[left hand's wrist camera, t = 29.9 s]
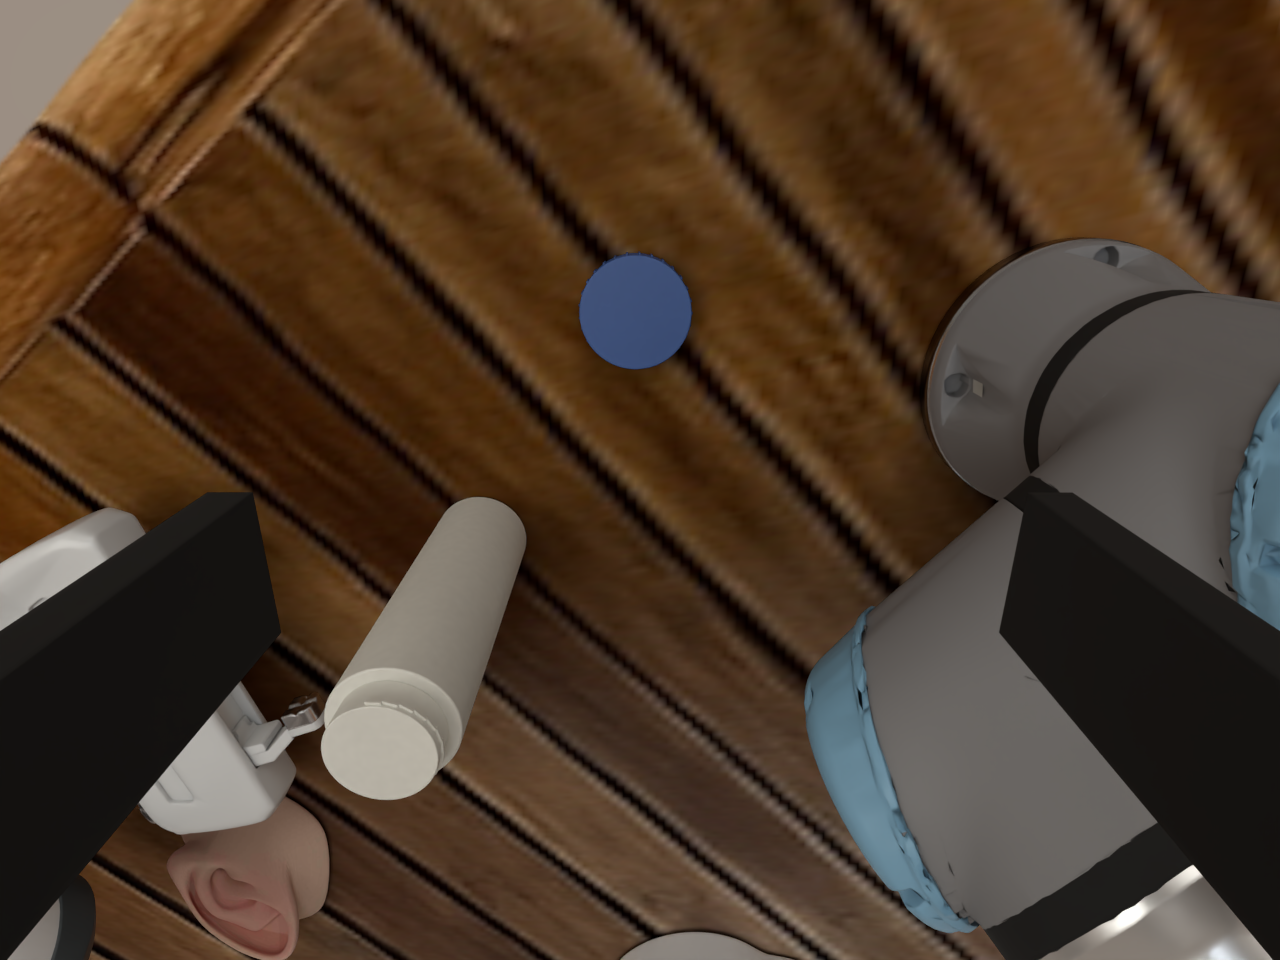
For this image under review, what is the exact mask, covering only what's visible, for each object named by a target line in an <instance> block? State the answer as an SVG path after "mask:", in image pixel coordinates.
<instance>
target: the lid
mask: <svg viewBox="0 0 1280 960" xmlns="http://www.w3.org/2000/svg"><path fill="white" fill-rule="evenodd" d="M682 279H683V278H682V276H681V275H678V274H677V272H676V271H675V270H674V267H673V266H670V265H668V264H667V263H666V262H664V259H659V258H657V257H654V256H653V255H652V254H650V255H647V254H641V253H640V252H638V253H629V254H628V252H626V254H624V255H620V256H616V255H615V256H614V258H612V259H610V260H609V261H607V262H606V261H604V262H603V265H602V266H600V267H599V268H598V269H595V270H594V274H593V275H592V277H591V278H590V279H588V280H587V281H586V283H587V284H586V287H585V289H584V290H583V291H582V292H581V294H582V297H581V302H580V304H579V307H580V311H579V314H580V316H579V319H580V323H581V327H582V331H583V333H584V336H585V338H586V340H587V342H588V343H589V345H590V346H591V347H592V349H593V350H594V351H595V352H596V353H597V354H598V355H599V356H600V357H602V358H603V359H604V360H606V361H608V362H609V363H611V364H613V365H616V366H619V367H622V368H627V369H644V368H649V367H652V366H656V365H658V364H660V363H662V362H664V361H665V360H667V359H668V358H670V357H671V356H672V355H673V354H674V353H675V352H676V351H677V350H678V349H679V348H680V346H681V345H682V343H683V342H684V340H685V338H686V337H687V333H688V331H689V328H690V327H691V316H692V314H693V312H692V310H691V302H692V300H691V298H690V297H689V294H688V291H687V290H688V287H687V286H685V285H684V283H683V281H682Z"/></svg>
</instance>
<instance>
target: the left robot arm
mask: <svg viewBox="0 0 1280 960" xmlns="http://www.w3.org/2000/svg"><path fill="white" fill-rule="evenodd" d="M920 401H921V411H922V416H923V421H924V425H925V428H926V431H927V434H928V436H929V438H930V441H931V443H932V445H933V447H934V448H935V450H936V452H937V453H938V455H939V456H940V457H941V459H942V460H943V461H944V462H945V464H946V465H947V466H948V467H949V468H950V469H951V470H952V471H953V472H954V473H956V474H957V475H958V476H959V477H960V478H961V479H963V480H964V481H965V482H966V483H968V484H969V485H970V486H971V487H973V488H975V489H976V490H978V491H979V492H981V493H983V494H985V495H987V496H989V497H991V498H993V499H996V500H998V502H997V503H996V504H995V505H994V506H993V507H991V508H990V509H989V510H988V511H987V512H986V513H984V514H983V515H982V516H981V517H980V518H979V519H977V520H976V521H975V522H974V523H973V524H972V525H971V526H969V527H968V528H967V529H966V530H965V531H964V532H962V533H961V534H960V535H959V536H958V537H957V538H955V539H954V540H953V541H952V542H951V543H950V544H948V545H947V546H946V547H945V548H944V549H943V550H941V551H940V552H939V553H938V554H937V555H936V556H935V557H933V558H932V559H931V560H930V561H929V562H928V563H926V564H925V565H924V566H923V567H922V568H921V569H919V570H918V571H917V572H916V573H915V574H914V575H912V576H911V577H910V578H909V579H908V580H907V581H905V582H904V583H903V584H902V585H901V586H900V587H898V588H897V589H896V590H895V591H894V592H893V593H892V594H890V595H889V596H888V597H887V598H886V599H885V600H883V601H882V602H881V603H880V604H879V605H878V606H876V607H874V606H871V607H869V608H868V609H866V610H865V611H864V612H862V614H861V615H860V616H859V617H858V619H857V622H856V625H855V626H854V627H853V628H852V629H851V630H850V631H849V632H848V633H847V634H845V635H844V636H843V637H842V638H841V639H840V640H839V641H838V642H837V643H836V644H835V645H834V646H833V647H832V648H831V649H830V650H829V651H828V652H827V653H826V654H825V655H824V656H823V657H822V658H821V659H820V660H819V661H818V662H817V663H816V665H815V666H814V668H813V669H812V671H811V673H810V675H809V678H808V680H807V684H806V689H805V701H804V705H805V711H806V727H807V732H808V736H809V740H810V744H811V748H812V751H813V754H814V757H815V760H816V763H817V766H818V768H819V771H820V773H821V776H822V778H823V781H824V783H825V785H826V788H827V790H828V792H829V794H830V796H831V799H832V801H833V803H834V805H835V807H836V808H837V810H838V812H839V814H840V816H841V818H842V820H843V822H844V823H845V825H846V827H847V829H848V830H849V832H850V834H851V836H852V837H853V839H854V841H855V842H856V844H857V846H858V847H859V849H860V850H861V852H862V853H863V855H864V856H865V858H866V859H867V861H868V862H869V864H870V865H871V866H872V868H873V869H874V871H875V872H876V873H877V875H878V876H879V877H880V878H881V880H882V881H883V882H884V883H885V884H886V886H887V887H888V888H889V889H891V890H893V891H898V892H899V894H900V896H901V898H902V900H903V902H904V904H905V906H906V907H907V909H908V910H909V911H910V912H911V913H913V914H914V915H915V916H916V917H917V918H918V919H920V920H921V921H922V922H924V923H925V924H926V925H928V926H930V927H932V928H934V929H936V930H939V931H942V932H946V933H953V932H957V931H961V932H965V933H969V932H971V931H973V930H974V929H975V928H977V927H978V926H979V925H981V927H982V928H983V929H984V930H985V932H986V933H987V935H988V936H989V937H990V939H991V940H992V941H993V943H994V944H995V946H996V947H997V948H998V950H999V951H1000V952H1001V954H1002V955H1003V957H1004V958H1005V959H1006V960H1280V302H1273V301H1266V300H1259V299H1252V298H1246V297H1239V296H1232V295H1225V294H1216V293H1211V292H1210V291H1208V290H1207V289H1206V288H1205V287H1203V286H1202V285H1201V284H1200V283H1198V282H1197V281H1196V280H1195V279H1193V278H1192V277H1191V276H1190V275H1188V274H1187V273H1186V272H1185V271H1183V270H1182V269H1181V268H1179V267H1178V266H1177V265H1176V264H1174V263H1173V262H1171V261H1170V260H1168V259H1167V258H1165V257H1163V256H1162V255H1159V254H1157V253H1155V252H1153V251H1150V250H1148V249H1145V248H1143V247H1140V246H1138V245H1135V244H1131V243H1128V242H1124V241H1118V240H1112V239H1100V238H1084V237H1082V238H1066V239H1059V240H1053V241H1049V242H1045V243H1041V244H1038V245H1035V246H1032V247H1029V248H1026V249H1024V250H1022V251H1020V252H1017V253H1015V254H1013V255H1011V256H1009V257H1008V258H1006V259H1004V260H1002V261H1000V262H999V263H997V264H996V265H994V266H993V267H992V268H990V269H989V270H987V271H986V272H985V273H983V274H982V275H981V276H980V277H978V278H977V279H976V280H975V281H974V282H973V283H972V284H971V285H970V286H969V287H968V288H967V289H966V290H965V291H964V292H963V293H962V294H961V295H960V296H959V297H958V299H957V300H956V301H955V302H954V304H953V305H952V306H951V308H950V309H949V310H948V312H947V313H946V315H945V316H944V318H943V319H942V321H941V323H940V324H939V326H938V328H937V330H936V332H935V334H934V336H933V338H932V341H931V343H930V346H929V348H928V351H927V355H926V358H925V361H924V366H923V371H922V376H921V386H920ZM280 633H281V630H280V625H279V620H278V615H277V610H276V605H275V600H274V595H273V590H272V585H271V580H270V575H269V570H268V566H267V561H266V556H265V551H264V546H263V541H262V536H261V531H260V526H259V521H258V516H257V511H256V506H255V502H254V497H253V492H207V493H206V494H204V495H203V496H201V497H200V498H198V499H197V500H195V501H194V502H192V503H191V504H189V505H188V506H186V507H185V508H183V509H182V510H181V511H179V512H178V513H176V514H175V515H173V516H172V517H170V518H169V519H167V520H166V521H164V522H163V523H161V524H160V525H158V526H157V527H155V528H154V529H152V530H151V531H149V532H148V533H146V534H145V535H143V536H142V537H140V538H139V539H137V540H136V541H134V542H133V543H131V544H130V545H128V546H127V547H125V548H124V549H122V550H121V551H119V552H118V553H116V554H115V555H113V556H112V557H110V558H109V559H107V560H106V561H104V562H103V563H101V564H100V565H98V566H97V567H95V568H94V569H92V570H91V571H89V572H88V573H86V574H85V575H83V576H82V577H80V578H79V579H77V580H76V581H74V582H73V583H71V584H70V585H68V586H67V587H65V588H64V589H62V590H61V591H59V592H58V593H56V594H55V595H53V596H52V597H50V598H49V599H47V600H46V601H44V602H43V603H41V604H40V605H38V606H37V607H35V608H34V609H32V610H31V611H29V612H28V613H26V614H25V615H23V616H22V617H20V618H19V619H17V620H16V621H14V622H13V623H11V624H10V625H8V626H7V627H5V628H4V629H2V630H1V631H0V960H7V959H8V958H9V957H10V956H11V955H12V954H13V952H14V951H15V950H16V949H17V948H18V946H19V945H20V944H21V943H22V942H23V940H24V939H25V938H26V937H27V936H28V934H29V933H30V932H31V931H32V930H33V928H34V927H35V926H36V925H37V924H38V922H39V921H40V920H41V919H42V918H43V916H44V915H45V914H46V913H47V912H48V910H49V909H50V908H51V907H52V906H53V905H54V903H55V902H56V901H57V900H58V899H59V897H60V896H61V895H62V894H63V893H64V891H65V890H66V889H67V888H68V887H69V885H70V884H71V883H72V882H73V881H74V879H75V878H76V877H77V876H78V875H79V873H80V872H81V871H82V870H83V869H84V867H85V866H86V865H87V864H88V863H89V862H90V860H91V859H92V858H93V857H94V856H95V854H96V853H97V852H98V851H99V850H100V848H101V847H102V846H103V845H104V844H105V842H106V841H107V840H108V839H109V838H110V836H111V835H112V834H113V833H114V832H115V830H116V829H117V828H118V827H119V826H120V824H121V823H122V822H123V821H124V820H125V818H126V817H127V816H128V815H129V814H130V813H131V811H132V810H133V809H134V808H135V807H136V805H137V804H138V803H139V802H140V801H141V799H142V798H143V797H144V796H145V795H146V793H147V792H148V791H149V790H150V789H151V787H152V786H153V785H154V784H155V783H156V781H157V780H158V779H159V778H160V777H161V775H162V774H163V773H164V772H165V771H166V769H167V768H168V767H169V766H170V765H171V764H172V762H173V761H174V760H175V759H176V758H177V756H178V755H179V754H180V753H181V752H182V750H183V749H184V748H185V747H186V746H187V744H188V743H189V742H190V741H191V740H192V738H193V737H194V736H195V735H196V734H197V732H198V731H199V730H200V729H201V728H202V726H203V725H204V724H205V723H206V722H207V721H208V719H209V718H210V717H211V716H212V715H213V713H214V712H215V711H216V710H217V709H218V707H219V706H220V705H221V704H222V703H223V701H224V700H225V699H226V698H227V697H228V695H229V694H230V693H231V692H232V691H233V689H234V688H235V687H236V686H237V685H238V683H239V682H240V681H241V680H242V679H243V677H244V676H245V675H246V674H247V673H248V672H249V670H250V669H251V668H252V667H253V666H254V664H255V663H256V662H257V661H258V660H259V658H260V657H261V656H262V655H263V654H264V652H265V651H266V650H267V649H268V648H269V646H270V645H271V644H272V643H273V642H274V640H275V639H276V638H277V637H278V636H279V634H280Z"/></svg>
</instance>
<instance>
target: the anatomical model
mask: <svg viewBox="0 0 1280 960" xmlns="http://www.w3.org/2000/svg"><path fill="white" fill-rule="evenodd" d="M181 836H182V838H183V841H184V842H185V845H183V846H182V847H181V848H179V849H177V850H176V851H175V852H174V853H173V854H172V855H171V856H170V858H169V859H168V862H167V870H168V872H169V874H170V876H171V878H172V880H173V882H174V883H175V885H176V887H177V888H178V890H179V892H180V893H181V895H182V897H183V898H184V900H185V902H186V903H187V905H188V907H189V908H190V910H191V911H192V913H193V914H194V916H195V917H196V918H197V919H198V921H199V922H200V923H201V924H202V925H203V926H204V927H205V928H206V929H207V930H208V931H209V932H210V933H212V934H213V935H214V936H216V937H217V938H218V939H220V940H221V941H223V942H224V943H226V944H227V945H229V946H231V947H232V948H234V949H236V950H238V951H240V952H242V953H244V954H246V955H249V956H252V957H255V958H258V959H261V960H284V959H286V958H288V957H289V956H290V955H291V954H292V952H293V951H294V949H295V947H296V944H297V940H298V935H299V919H302V918H306V917H309V916H311V915H313V914H315V913H316V912H318V911H319V910H320V909H321V907H322V906H323V904H324V902H325V898H326V895H327V890H328V882H329V850H328V844H327V839H326V835H325V832H324V830H323V828H322V826H321V825H320V823H319V822H318V820H317V819H316V818H315V817H314V816H313V815H312V814H311V813H310V812H309V811H307V810H306V809H305V808H303V807H302V806H300V805H299V804H298V803H296V802H294V801H293V800H291V799H289V798H287V797H286V796H285V797H284V799H283V800H282V802H281V803H280V805H279V806H278V808H277V809H276V811H275V812H274V813H273V814H272V815H271V816H270V817H269V818H268V819H266V820H265V821H262V822H259V823H256V824H251V825H247V826H242V827H237V828H231V829H225V830H218V831H210V832H201V833H189V834H181Z"/></svg>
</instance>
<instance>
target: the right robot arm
mask: <svg viewBox="0 0 1280 960" xmlns="http://www.w3.org/2000/svg"><path fill="white" fill-rule="evenodd" d="M145 534H146V533H145V531H144V529H143V528H142V526H141V524H140V523H139V521H138V520H137V518H136V517H135V516H134V515H133V514H131V513H128V512H125V511H122V510H118V509H115V508H104V509H102V510H99V511H96V512H94V513H91V514H89V515H87V516H84V517H82V518H80V519H78V520H76V521H74V522H72V523H70V524H68V525H67V526H65V527H63V528H61V529H59V530H57V531H55V532H54V533H52V534H50V535H48V536H46V537H44V538H43V539H41V540H39V541H37V542H35V543H34V544H32V545H30V546H29V547H27V548H25V549H24V550H22V551H20V552H19V553H17V554H15V555H14V556H12V557H10V558H9V559H7V560H5V561H4V562H2V563H0V631H1V630H2V629H4V628H5V627H7V626H8V625H10V624H11V623H13V622H14V621H16V620H17V619H19V618H20V617H22V616H23V615H25V614H26V613H28V612H29V611H31V610H32V609H34V608H35V607H37V606H38V605H40V604H41V603H43V602H44V601H46V600H47V599H49V598H50V597H52V596H53V595H55V594H56V593H58V592H59V591H61V590H62V589H64V588H65V587H67V586H68V585H70V584H71V583H73V582H74V581H76V580H77V579H79V578H80V577H82V576H83V575H85V574H86V573H88V572H89V571H91V570H92V569H94V568H95V567H97V566H98V565H100V564H101V563H103V562H104V561H106V560H107V559H109V558H110V557H112V556H113V555H115V554H116V553H118V552H119V551H121V550H122V549H124V548H125V547H127V546H128V545H130V544H131V543H133V542H134V541H136V540H137V539H139V538H140V537H142V536H143V535H145ZM325 706H326V705H325V703H324V702H323V700H322V698H321V697H320V695H319V694H318V692H313V693H311V694H310V695H309V696H305V695H303V696H300V697H296V698H294V699H293V701H292V702H291V703H290V705H289V709H288V710H286V711H285V712H284V714H283V715H282V717H281V719H282V721H283V723H284V724H285V726H284V727H282V724H281V722H280V721H279V720H274V721H271V722H267V721H266V719H265V718H264V716H263V715H262V713H261V712H260V710H259V709H258V707H257V705H256V704H255V702H254V701H253V699H252V698H251V696H250V695H249V693H248V691H247V690H246V688H245V687H244V685H243V684H242V682H241V681H240V682H239V683H238V685H237V686H236V687H235V688H234V689H233V691H232V692H231V693H230V694H229V695H228V697H227V698H226V699H225V700H224V701H223V703H222V704H221V705H220V706H219V707H218V709H217V710H216V711H215V712H214V713H213V715H212V716H211V717H210V718H209V719H208V721H207V722H206V723H205V724H204V725H203V726H202V728H201V729H200V730H199V731H198V732H197V734H196V735H195V736H194V737H193V738H192V740H191V741H190V742H189V743H188V744H187V746H186V747H185V748H184V749H183V750H182V752H181V753H180V754H179V755H178V756H177V758H176V759H175V760H174V761H173V762H172V764H171V765H170V766H169V767H168V768H167V769H166V771H165V772H164V773H163V774H162V775H161V777H160V778H159V779H158V780H157V781H156V783H155V784H154V785H153V786H152V787H151V789H150V790H149V791H148V792H147V793H146V795H145V796H144V797H143V798H142V799H141V801H140V802H139V803H138V804H137V805H138V806H139V807H140V808H139V810H140V812H141V813H142V815H143V816H144V817H145V818H146V819H147V820H148V821H149V822H150V823H152V824H158V825H159V826H160V827H162V828H163V829H166V830H168V831H171V832H174V833H176V834H189V833H201V832H210V831H218V830H225V829H231V828H237V827H242V826H247V825H251V824H256V823H259V822H262V821H265V820H266V819H268V818H269V817H270V816H271V815H272V814H273V813H274V812H275V811H276V809H277V808H278V806H279V805H280V803H281V802H282V800H283V799H284V797H285V795H286V793H287V792H288V790H289V788H290V786H291V784H292V781H293V779H294V777H295V775H296V767H295V765H294V763H293V761H292V760H291V758H290V757H289V755H288V754H287V752H286V751H285V748H286V747H287V746H288V745H289V744H290V742H291V741H292V740H293V739H294V737H295V736H298V735H302V734H305V733H308V732H312V731H315V730H317V729H318V728H320V727H321V726H322V725H323V724H324V711H325ZM95 927H96V909H95V899H94V894H93V891H92V889H91V887H90V885H89V883H88V882H87V881H86V880H85V879H84V878H83V877H82V876H80V875H78V876H77V877H76V878H75V879H74V881H73V882H72V883H71V884H70V885H69V887H68V888H67V889H66V890H65V891H64V893H63V894H62V895H61V896H60V897H59V899H58V900H57V901H56V902H55V903H54V905H53V906H52V907H51V908H50V909H49V910H48V912H47V913H46V914H45V915H44V916H43V918H42V919H41V920H40V921H39V922H38V924H37V925H36V926H35V927H34V928H33V930H32V931H31V932H30V933H29V934H28V936H27V937H26V938H25V939H24V940H23V942H22V943H21V944H20V945H19V946H18V948H17V949H16V950H15V951H14V952H13V954H12V955H11V956H10V957H9V958H8V959H7V960H88V959H89V956H90V953H91V950H92V946H93V942H94V936H95ZM620 960H793V959H790V958H786V957H781V956H775V955H769V954H766V953H763V952H761V951H759V950H757V949H756V948H754V947H752V946H750V945H748V944H747V943H745V942H742V941H740V940H738V939H735V938H732V937H728V936H725V935H720V934H715V933H706V932H684V933H676V934H670V935H665V936H662V937H658V938H655V939H652V940H650V941H647V942H645V943H643V944H641V945H639V946H637V947H636V948H634V949H632V950H631V951H629V952H628V953H627V954H626V955H624V956H623V957H622V958H621V959H620Z"/></svg>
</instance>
